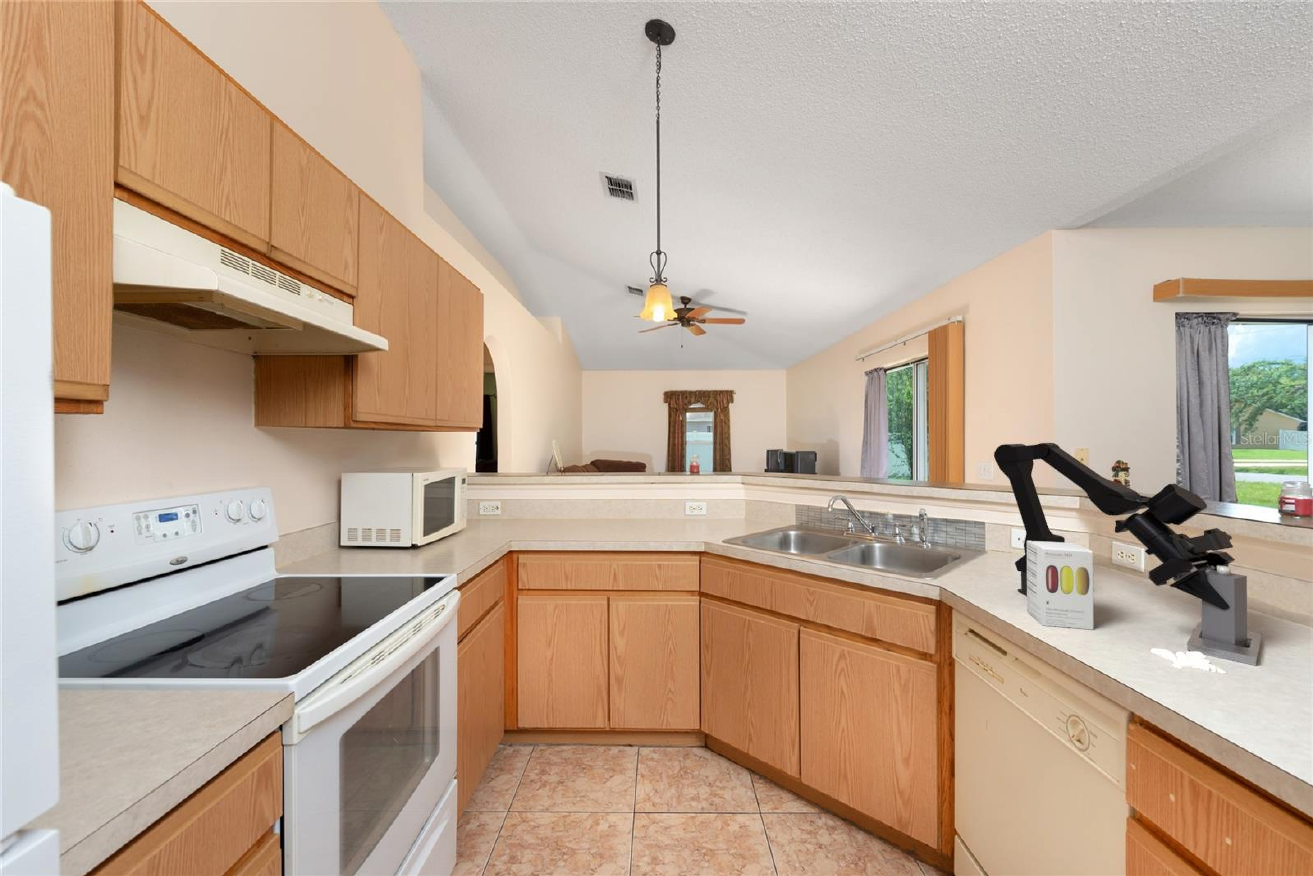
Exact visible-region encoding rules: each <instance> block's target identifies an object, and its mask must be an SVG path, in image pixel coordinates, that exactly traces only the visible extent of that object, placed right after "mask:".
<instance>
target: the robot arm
mask: <svg viewBox="0 0 1313 876" xmlns="http://www.w3.org/2000/svg"><path fill="white" fill-rule="evenodd" d="M993 456H994V457H993V458H994V461H995V463H996V464H997V467H998V468H999V470H1000V471H1001V472H1002V473H1003V474H1004V475H1005V476H1006V477H1007V479H1008V480H1009V482H1010V485H1011V490H1012V492H1013V495H1014V498H1015V501H1016V504H1017V508H1018V512H1019V515H1020V517H1021V520H1022V524H1023V527H1024V530H1025V538H1024V542H1023V551H1024V555H1023V556H1021V557H1020V558H1018V560H1016V561H1015V562H1014V565H1015V568H1016V571H1018V572H1020V588H1017V592H1020V594H1023V595H1025V596H1026V597H1027V541H1043V542H1064V541H1063V538H1062V537H1063V536H1062V535H1060V536H1056V537H1055V536H1054V533H1053V532H1052V531H1051V530H1050V528H1049V526H1048V525H1049V524H1048V522H1047V519H1046V515H1045V512H1044V510H1043V507H1042V503H1041V501H1040V497H1039V494H1038V492H1037V489H1036V486H1035V482H1034V480H1033V477H1032V476H1033V475H1032V474H1033V473H1032V472H1033V469H1034V464H1035V463H1034V460H1042V461H1043V462H1044V463H1046V464H1047V465H1049V466H1050V467H1051V468H1053V469H1054V470H1055V471H1057V472H1058V473H1060V474H1061V475H1063V476H1064V477H1065V478H1067V479H1068V480H1070V481H1071V482H1072V483H1073V484H1075V485H1076V486H1077V487H1079V488H1080V489H1082V490H1083V492H1084V493H1086V494H1087V496H1088V499H1089V500H1090V502H1091V503H1092V504H1093V505H1094V506H1095V507H1096V508H1098V510H1099V511H1101V512H1102V513H1103V514H1105V515H1107V516H1113V517H1115V516H1123V515H1129V516H1128V517H1126V518H1125V519H1116V520H1115V522H1114V523H1115V527H1114V533H1116V534H1119V533H1126V532H1130V533H1131V534H1132V536H1134V538H1135V539H1137V541H1139V542H1140V543H1141V544H1142V545H1143V546H1144V547H1145V548H1146V550H1144V552H1145V553H1146V554H1147V555H1148V556H1152V555H1153V556H1155V557H1156V558H1157V559H1158V560H1159V561H1160V562H1161V564H1159V565H1158V566H1156V567H1155V568H1153V569H1151V570H1149V571H1148V579H1150V581H1151V582H1152V583H1153V584H1154V585H1155V586H1156V587H1160V586H1164V585H1167V584H1168V582H1167V581H1169V580H1171V579H1172V580H1173V581H1174V582H1173V583H1171V584H1169V587H1170V588H1175V589H1177V590H1178V591H1181V592H1184V593H1186V594H1188V595H1191V596H1192V597H1194V598H1197V599H1199V600H1201V601H1202V600H1203V601H1206V602H1208V603H1210V604H1212V605H1214V606H1216V607H1218V608H1220V609H1223V610H1226V609H1228V608H1230V606H1229V605H1228V604H1227V603H1226V601H1225V600H1224V599H1223V598H1222V597H1221V596H1220V594H1219V593H1218V592H1217V591H1216V590H1215V589H1214V588H1213V587H1212V586H1211V584H1210V583H1209V582H1208V581H1207V580H1206V572H1207V571H1212V570H1216V571H1217V565H1222V566H1228V567H1230V566H1229V564H1231V563H1233V562H1234V561H1236V559H1235V558H1234V557H1233V556H1232V555H1230V553H1228V552H1227V551H1222V550H1226V549H1232V548H1234V545H1233V544H1232V542H1231V540H1232V539H1233V536H1232V535H1230V534H1228V533H1227V532H1226V531H1222V530H1221V529H1220V528H1217V527H1214V528H1211V529H1206V530H1205V529H1204V530H1203V534H1202V535H1198V536H1193V537H1189V536H1188V534H1186V533H1177V532H1176V531H1174V530H1173V529H1172V528H1171V527H1170V526H1169V525H1171V524H1172V525H1176V526H1181V525H1182V524H1184V523H1185V522H1187V521H1188V520H1190V519H1193V517H1195V516H1196V515H1198V514H1200V513H1201V512H1202V511H1204V510H1206V509H1207V508H1208V505H1207V503H1206V501H1204V500H1203V499H1202V498H1201V496H1199V495H1198V494H1197V493H1193V492H1191V491H1189V490H1188V489H1186V488H1184V487H1181V486H1179V485H1178V484H1177V483H1169V484H1167V485H1165V486H1164V487H1163V488H1162V490H1160V491H1159V492H1157V493H1156V494H1154V495H1153V496H1152V497H1151V496H1146V495H1141V494H1139V492H1137V491H1136V490H1134V489H1132V488H1131V487H1128V486H1126V485H1124V484H1122V483H1120V482H1116V481H1113V480H1110V479H1107V478H1105V477H1103V476H1102V475H1100V474H1099V473H1097V472H1096V471H1094V470H1093V469H1092V468H1090V467H1088V466H1087V465H1085V464H1084V463H1083V462H1082V461H1079V460H1078V459H1077V458H1075V457H1074V456H1072V455H1071V454H1070V453H1068V452H1066V451H1065V450H1064V449H1062V448H1061V447H1060V446H1059V445H1058V444H1056V443H1055V442H1040V443H1038V444H1029V445H1026V444H1023V443H1008V444H1007V443H1006V444H1001V445H999V446H997V447H996V449H995V450H994V452H993ZM1143 509H1144V511H1143V512H1141V513H1139V512H1138V511H1139V510H1143ZM1145 509H1146V510H1145Z"/></svg>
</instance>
